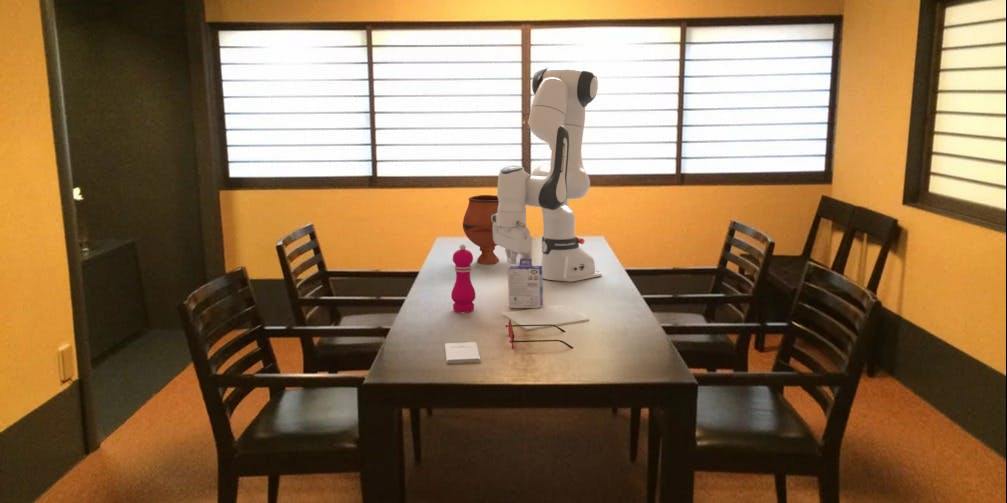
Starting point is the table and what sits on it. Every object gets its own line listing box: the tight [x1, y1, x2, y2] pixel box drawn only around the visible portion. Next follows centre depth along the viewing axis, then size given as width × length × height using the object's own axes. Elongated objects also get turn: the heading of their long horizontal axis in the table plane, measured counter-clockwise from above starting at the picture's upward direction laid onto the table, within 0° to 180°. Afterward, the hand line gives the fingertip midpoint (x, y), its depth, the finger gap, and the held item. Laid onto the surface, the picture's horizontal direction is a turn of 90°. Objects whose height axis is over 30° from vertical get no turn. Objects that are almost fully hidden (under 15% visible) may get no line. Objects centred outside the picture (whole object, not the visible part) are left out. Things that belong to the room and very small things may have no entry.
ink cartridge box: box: [507, 258, 544, 309], centre depth 227 cm, size 10×6×14 cm, turn 79°
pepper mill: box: [450, 243, 476, 313], centre depth 224 cm, size 7×7×20 cm
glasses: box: [504, 319, 574, 349], centre depth 198 cm, size 14×16×5 cm
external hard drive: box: [444, 341, 482, 364], centre depth 188 cm, size 2×8×12 cm
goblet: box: [462, 194, 500, 265], centre depth 287 cm, size 19×19×25 cm
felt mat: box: [501, 304, 590, 331], centre depth 218 cm, size 20×16×1 cm
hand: (511, 263), depth 235 cm, fingers closed
